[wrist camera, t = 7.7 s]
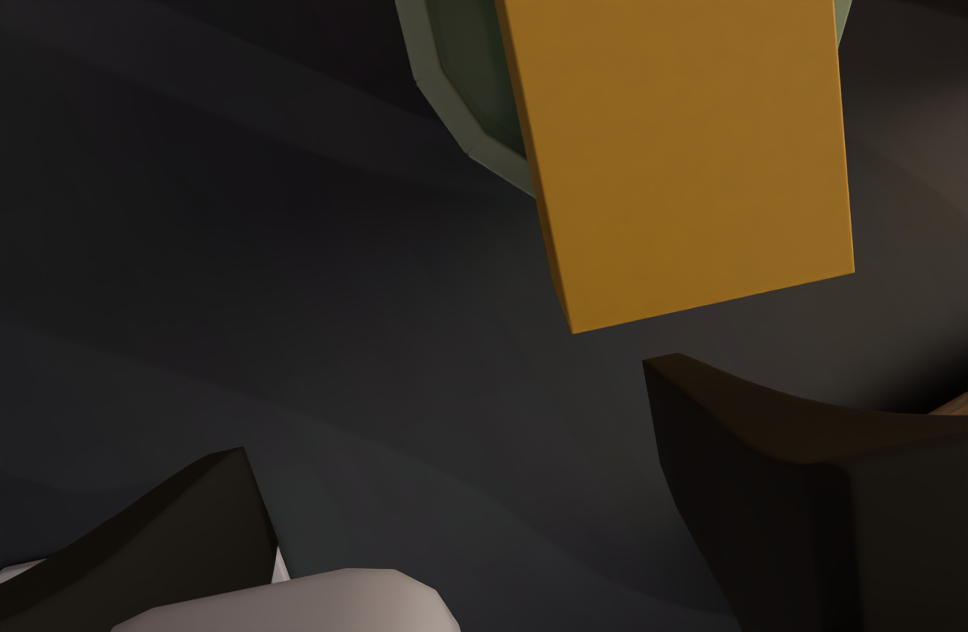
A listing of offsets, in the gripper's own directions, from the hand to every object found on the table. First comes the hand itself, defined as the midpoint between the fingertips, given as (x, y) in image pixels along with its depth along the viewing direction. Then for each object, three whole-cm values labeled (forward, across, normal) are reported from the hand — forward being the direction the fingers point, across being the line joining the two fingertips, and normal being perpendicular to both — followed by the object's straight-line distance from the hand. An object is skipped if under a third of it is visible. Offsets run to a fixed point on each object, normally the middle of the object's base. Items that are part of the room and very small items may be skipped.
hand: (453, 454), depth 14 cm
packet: (+4, -5, -7) cm, 9 cm away
